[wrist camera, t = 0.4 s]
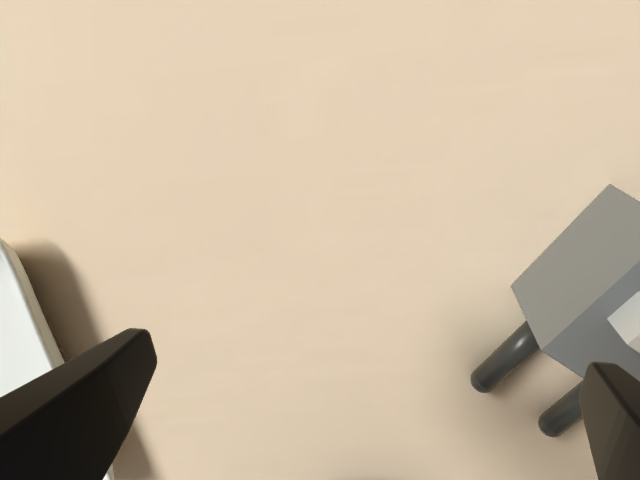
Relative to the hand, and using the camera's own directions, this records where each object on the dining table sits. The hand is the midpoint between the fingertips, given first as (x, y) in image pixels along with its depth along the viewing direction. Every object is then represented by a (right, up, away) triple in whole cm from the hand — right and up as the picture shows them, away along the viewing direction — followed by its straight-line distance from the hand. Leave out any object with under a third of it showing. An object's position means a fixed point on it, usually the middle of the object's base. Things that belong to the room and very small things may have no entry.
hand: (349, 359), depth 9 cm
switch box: (+14, -2, +16) cm, 21 cm away
